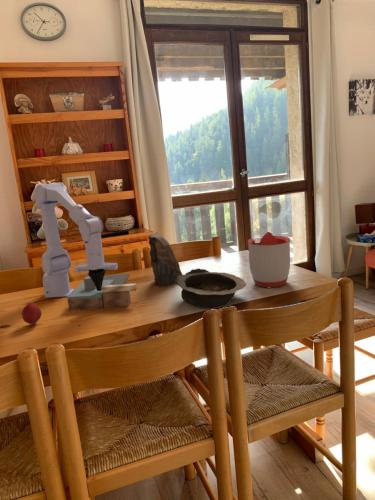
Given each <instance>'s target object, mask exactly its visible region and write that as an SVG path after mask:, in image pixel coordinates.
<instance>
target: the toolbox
mask: <svg viewBox="0 0 375 500" xmlns="http://www.w3.org/2000/svg"><path fill="white" fill-rule="evenodd" d="M112 285H114V282H113V283H112ZM131 299H132V298H131V291H122V292H105V293H103V296H102V298H90V299H73V300H68V299H67V304H68V310H69V311H84V310H85V311H87V310H101V309H104V308H120V307H121V308H123V307H129V306H130V304H131V302H132V300H131Z"/></svg>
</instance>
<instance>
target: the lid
mask: <svg viewBox="0 0 375 500" xmlns="http://www.w3.org/2000/svg"><path fill="white" fill-rule="evenodd" d="M113 282H114V281H113V280H103V283H102V286H103V285H112V283H113ZM102 296H103V293H102V290H101V291H97V289H96V286H95V284H94V282H93V281H92V279H91V278H90V277H89V275H87V276H85V277H84V278H83V281H82V282H81V283H80V284H79V285H78V286H77V287H76V288H75V289H74V291H73V292H72V293H71V294H69V295H68V296H66V298H67V301H68V300H73V299H90V298H102Z"/></svg>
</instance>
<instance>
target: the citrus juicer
mask: <svg viewBox="0 0 375 500" xmlns="http://www.w3.org/2000/svg"><path fill="white" fill-rule="evenodd" d="M247 243H248V244H247V245H248V261H249V263H248V264H249V269H250V274H251V276H252V280H253V283H254V284H255V285H256V286H259V287H262V288H263V287H264V288H266V287H271V288H276V287H280V286H284V285H286V283H287V281H288V279H289V274H290V269H291V248H290V247H291V245H290V244H291V238H290V237H288V236H284V235H274V234H273V233H271V232H270V231H266V233H264V235H263V236H262V237H261V239H260V240H259V242H258V241H257V242H256V240H255V239H253V238H249V239H247Z"/></svg>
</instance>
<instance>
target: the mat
mask: <svg viewBox="0 0 375 500" xmlns="http://www.w3.org/2000/svg"><path fill="white" fill-rule="evenodd" d="M130 276H131V274H130V273H123V274H121V273H120V274H119V273H118V274H104V278H103V280H113V281H114V285H119V284H126V281H127V280H128V278H129V277H130Z"/></svg>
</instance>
